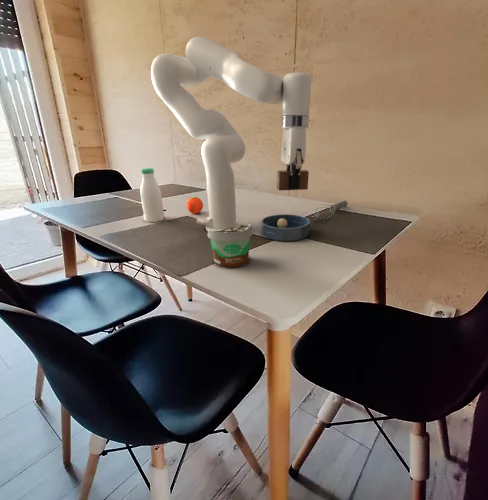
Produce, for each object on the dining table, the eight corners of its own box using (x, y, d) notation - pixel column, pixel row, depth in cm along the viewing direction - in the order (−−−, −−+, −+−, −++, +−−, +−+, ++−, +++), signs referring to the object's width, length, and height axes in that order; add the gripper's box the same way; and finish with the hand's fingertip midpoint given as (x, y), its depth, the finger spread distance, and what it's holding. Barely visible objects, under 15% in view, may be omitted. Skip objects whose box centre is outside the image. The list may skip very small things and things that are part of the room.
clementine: (182, 213, 133) (180, 196, 130) (195, 209, 138) (193, 193, 135) (194, 216, 128) (192, 199, 125) (207, 212, 133) (205, 196, 130)
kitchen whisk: (352, 205, 139) (354, 191, 137) (323, 226, 113) (324, 209, 111) (339, 204, 142) (340, 190, 140) (308, 223, 116) (309, 207, 114)
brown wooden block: (278, 190, 94) (279, 171, 92) (276, 188, 96) (277, 170, 94) (307, 189, 95) (308, 171, 93) (304, 187, 98) (305, 169, 95)
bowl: (267, 244, 97) (267, 230, 96) (257, 228, 112) (256, 216, 110) (316, 239, 100) (317, 226, 98) (300, 224, 115) (300, 213, 113)
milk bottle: (168, 218, 126) (162, 168, 118) (153, 223, 120) (145, 170, 112) (155, 216, 130) (148, 166, 122) (140, 220, 124) (131, 169, 116)
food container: (216, 273, 79) (213, 236, 75) (209, 264, 84) (206, 229, 80) (260, 264, 83) (260, 229, 79) (251, 256, 88) (250, 222, 85)
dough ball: (278, 230, 107) (278, 220, 106) (275, 227, 111) (275, 217, 109) (288, 229, 108) (288, 219, 107) (285, 226, 111) (285, 216, 110)
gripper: (275, 122, 95) (274, 182, 102) (290, 123, 80) (287, 193, 87) (299, 122, 96) (296, 182, 103) (317, 123, 81) (312, 192, 89)
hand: (292, 186), depth 95 cm, fingers closed on brown wooden block, 2 cm apart
